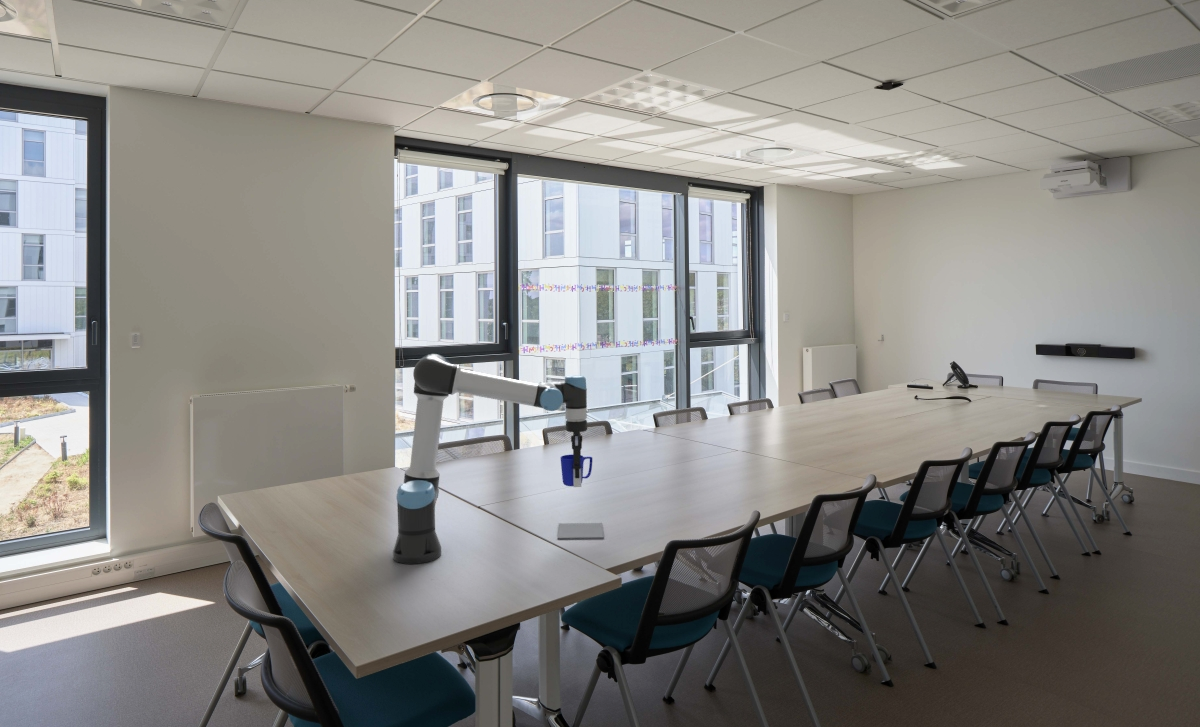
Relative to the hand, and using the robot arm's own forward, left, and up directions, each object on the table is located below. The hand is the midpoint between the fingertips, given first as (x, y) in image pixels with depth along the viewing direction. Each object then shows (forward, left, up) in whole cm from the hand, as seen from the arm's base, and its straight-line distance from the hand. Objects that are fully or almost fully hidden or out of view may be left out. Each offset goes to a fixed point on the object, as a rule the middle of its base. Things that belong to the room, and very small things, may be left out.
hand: (577, 483), depth 247 cm
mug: (0, +1, 0) cm, 1 cm away
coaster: (+1, +2, -18) cm, 18 cm away
